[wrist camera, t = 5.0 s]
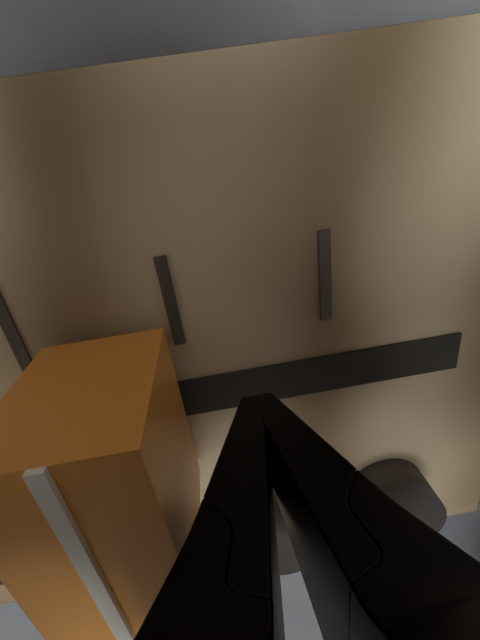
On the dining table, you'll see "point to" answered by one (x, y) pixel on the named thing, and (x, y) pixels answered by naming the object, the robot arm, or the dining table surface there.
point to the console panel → (268, 239)
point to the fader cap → (94, 484)
